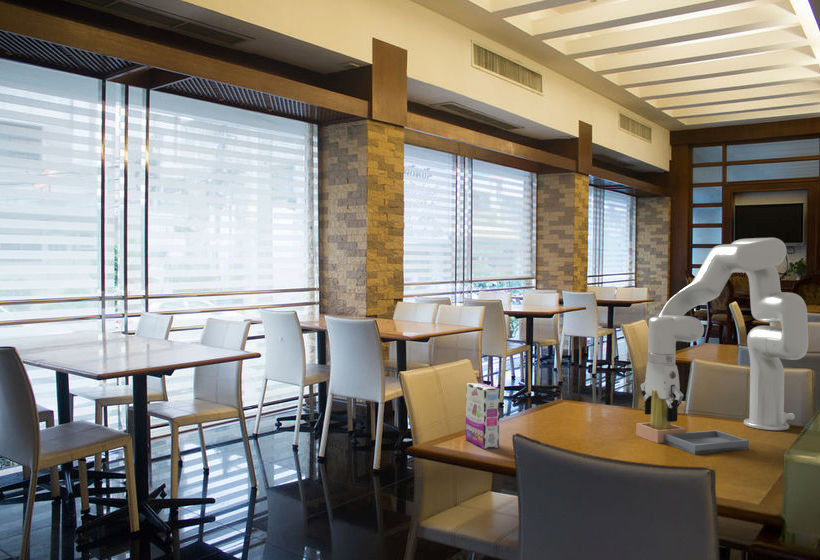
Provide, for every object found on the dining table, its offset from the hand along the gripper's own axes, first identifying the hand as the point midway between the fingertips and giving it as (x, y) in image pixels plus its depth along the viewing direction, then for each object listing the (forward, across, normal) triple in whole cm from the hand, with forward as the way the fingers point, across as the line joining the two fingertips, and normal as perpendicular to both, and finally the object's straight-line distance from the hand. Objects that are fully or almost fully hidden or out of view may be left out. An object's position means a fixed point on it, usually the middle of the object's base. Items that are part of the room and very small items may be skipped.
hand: (660, 417), depth 194 cm
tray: (+6, -11, -6) cm, 14 cm away
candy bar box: (+6, +9, +53) cm, 54 cm away
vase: (+6, 0, 0) cm, 6 cm away
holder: (+6, 0, 0) cm, 6 cm away
